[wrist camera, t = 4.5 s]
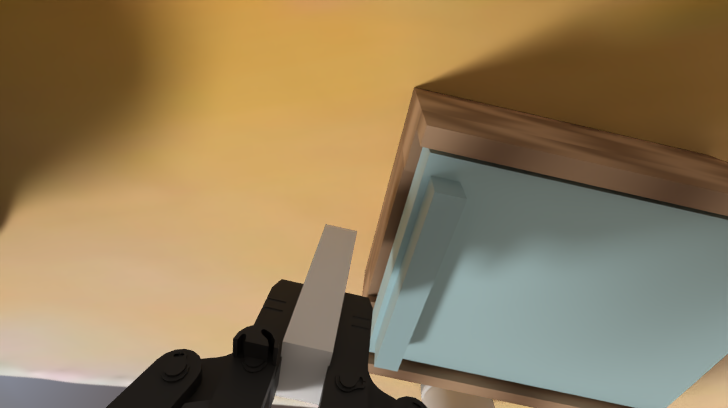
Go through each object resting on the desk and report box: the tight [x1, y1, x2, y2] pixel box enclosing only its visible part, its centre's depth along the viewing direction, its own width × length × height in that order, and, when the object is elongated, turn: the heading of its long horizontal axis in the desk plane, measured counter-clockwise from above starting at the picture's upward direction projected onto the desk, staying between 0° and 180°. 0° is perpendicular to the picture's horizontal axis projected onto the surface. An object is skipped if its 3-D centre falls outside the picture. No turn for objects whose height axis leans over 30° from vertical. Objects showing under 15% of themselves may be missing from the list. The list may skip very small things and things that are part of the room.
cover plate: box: [369, 147, 728, 408], centre depth 16 cm, size 17×12×4 cm
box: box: [362, 87, 728, 408], centre depth 19 cm, size 18×14×8 cm
